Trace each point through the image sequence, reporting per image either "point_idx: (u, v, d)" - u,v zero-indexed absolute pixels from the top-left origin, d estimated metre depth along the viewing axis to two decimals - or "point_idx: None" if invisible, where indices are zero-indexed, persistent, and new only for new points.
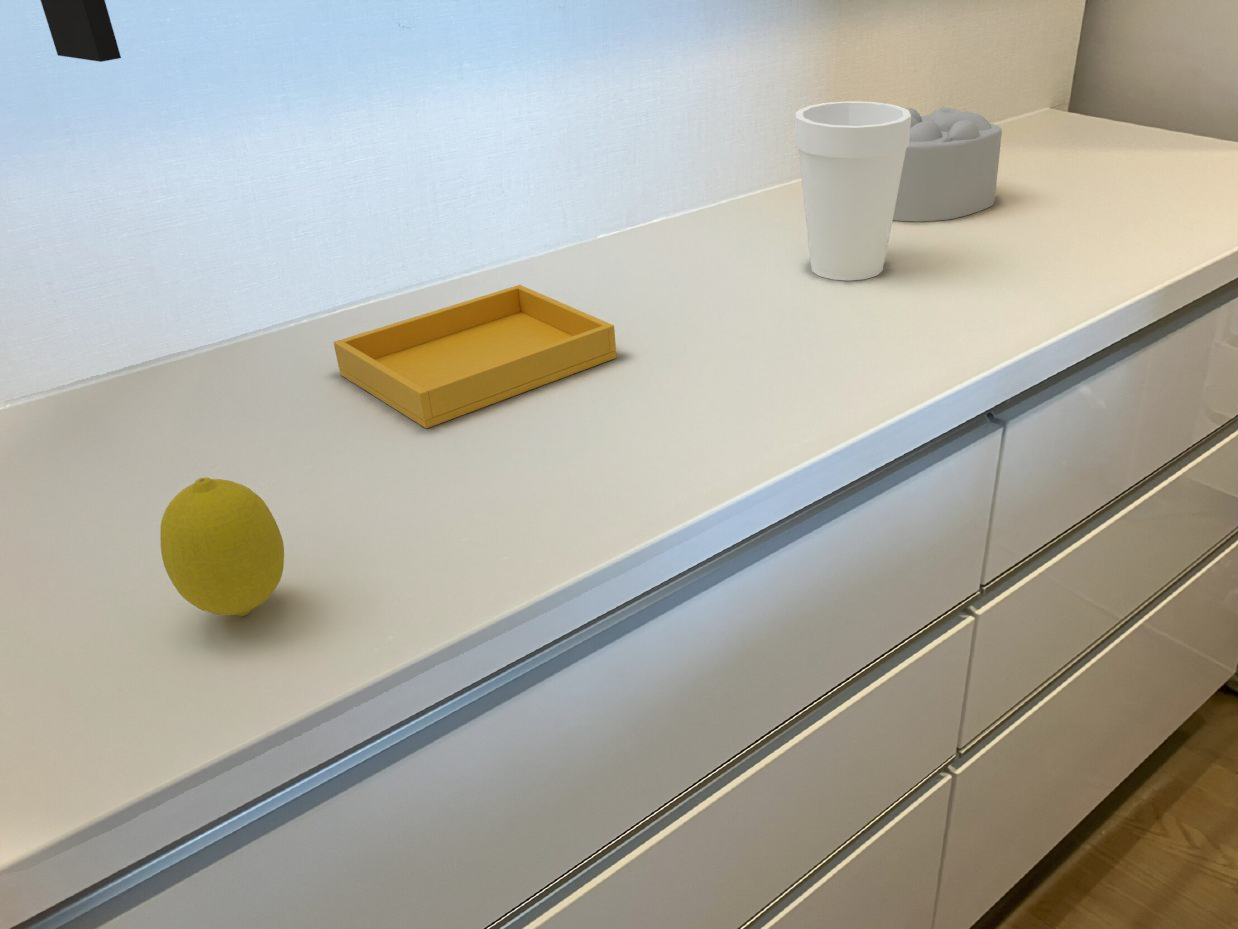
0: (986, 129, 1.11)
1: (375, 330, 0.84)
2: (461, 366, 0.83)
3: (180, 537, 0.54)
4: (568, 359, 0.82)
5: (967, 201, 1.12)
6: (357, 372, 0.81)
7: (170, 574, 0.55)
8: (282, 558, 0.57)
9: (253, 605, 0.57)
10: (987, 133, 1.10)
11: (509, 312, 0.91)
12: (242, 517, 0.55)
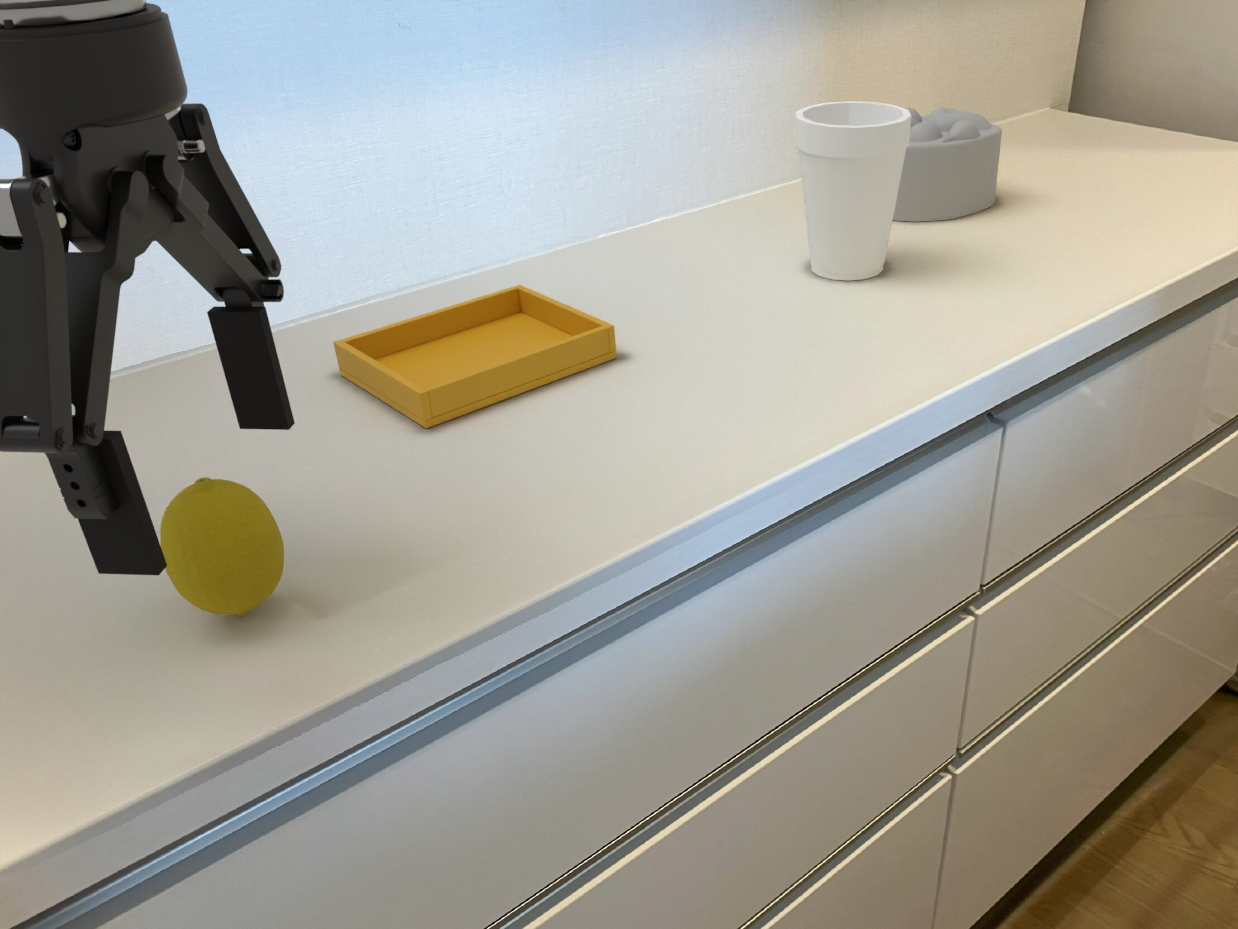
0: (986, 129, 1.11)
1: (375, 330, 0.84)
2: (461, 366, 0.83)
3: (180, 537, 0.54)
4: (568, 359, 0.82)
5: (967, 201, 1.12)
6: (357, 372, 0.81)
7: (170, 574, 0.55)
8: (282, 558, 0.57)
9: (253, 605, 0.57)
10: (987, 133, 1.10)
11: (509, 312, 0.91)
12: (242, 517, 0.55)
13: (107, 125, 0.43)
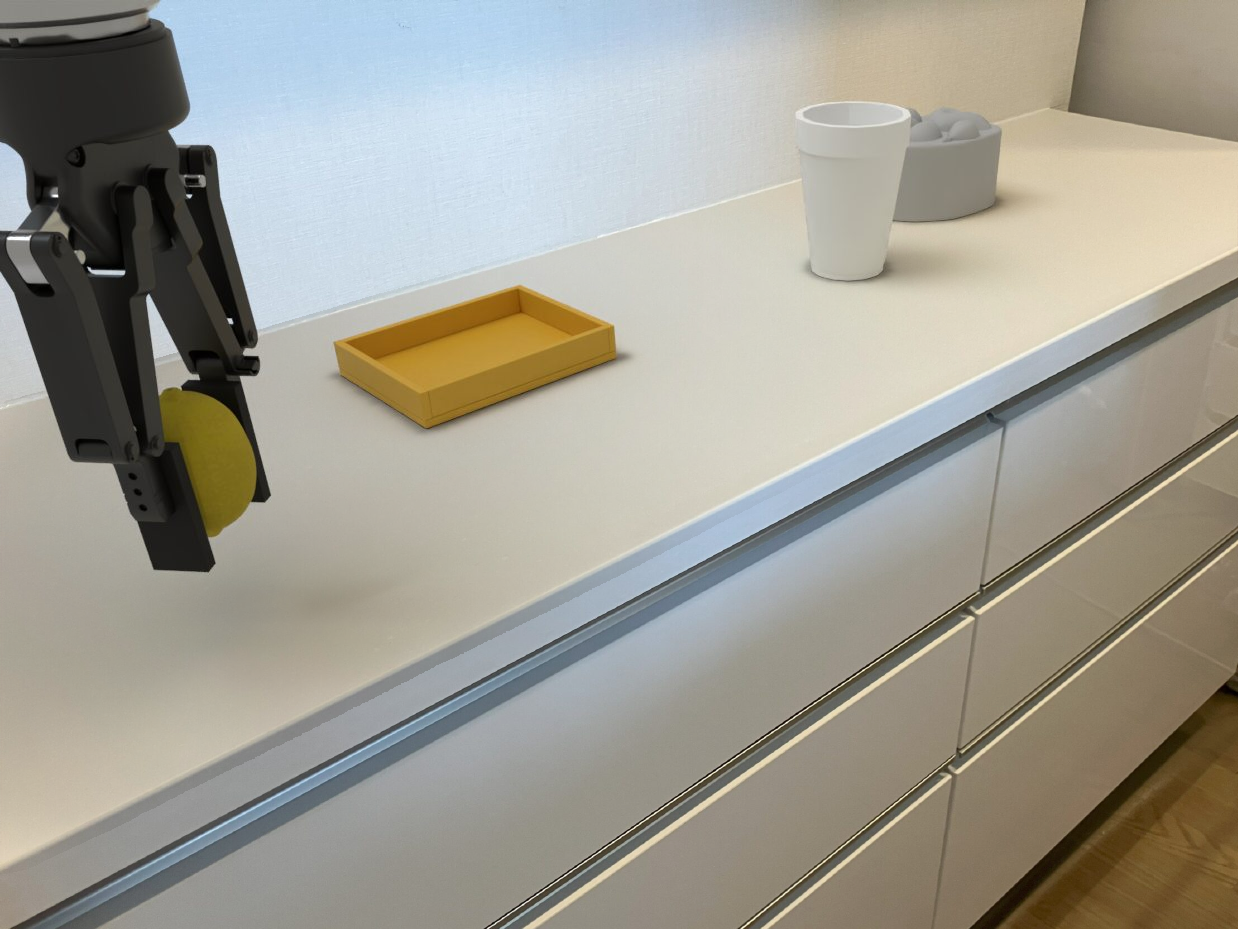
0: (986, 129, 1.11)
1: (375, 330, 0.84)
2: (461, 366, 0.83)
3: None
4: (568, 359, 0.82)
5: (967, 201, 1.12)
6: (357, 372, 0.81)
7: None
8: (254, 476, 0.55)
9: (223, 524, 0.55)
10: (987, 133, 1.10)
11: (509, 312, 0.91)
12: (211, 428, 0.52)
13: (111, 142, 0.44)
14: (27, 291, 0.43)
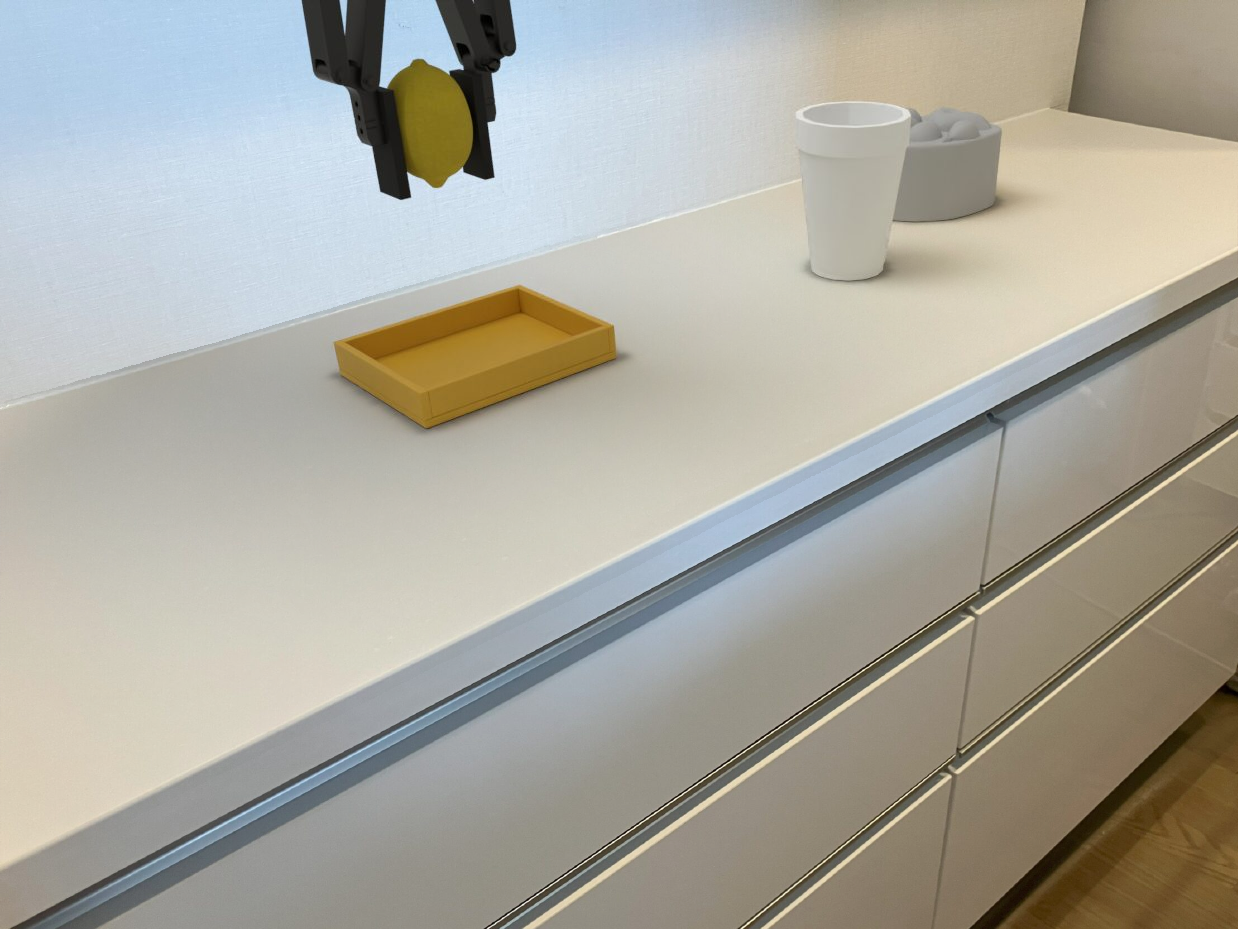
0: (986, 129, 1.11)
1: (375, 330, 0.84)
2: (461, 366, 0.83)
3: None
4: (568, 359, 0.82)
5: (967, 201, 1.12)
6: (357, 372, 0.81)
7: None
8: (458, 143, 0.72)
9: (427, 171, 0.73)
10: (987, 133, 1.10)
11: (509, 312, 0.91)
12: (427, 91, 0.70)
13: None
14: None
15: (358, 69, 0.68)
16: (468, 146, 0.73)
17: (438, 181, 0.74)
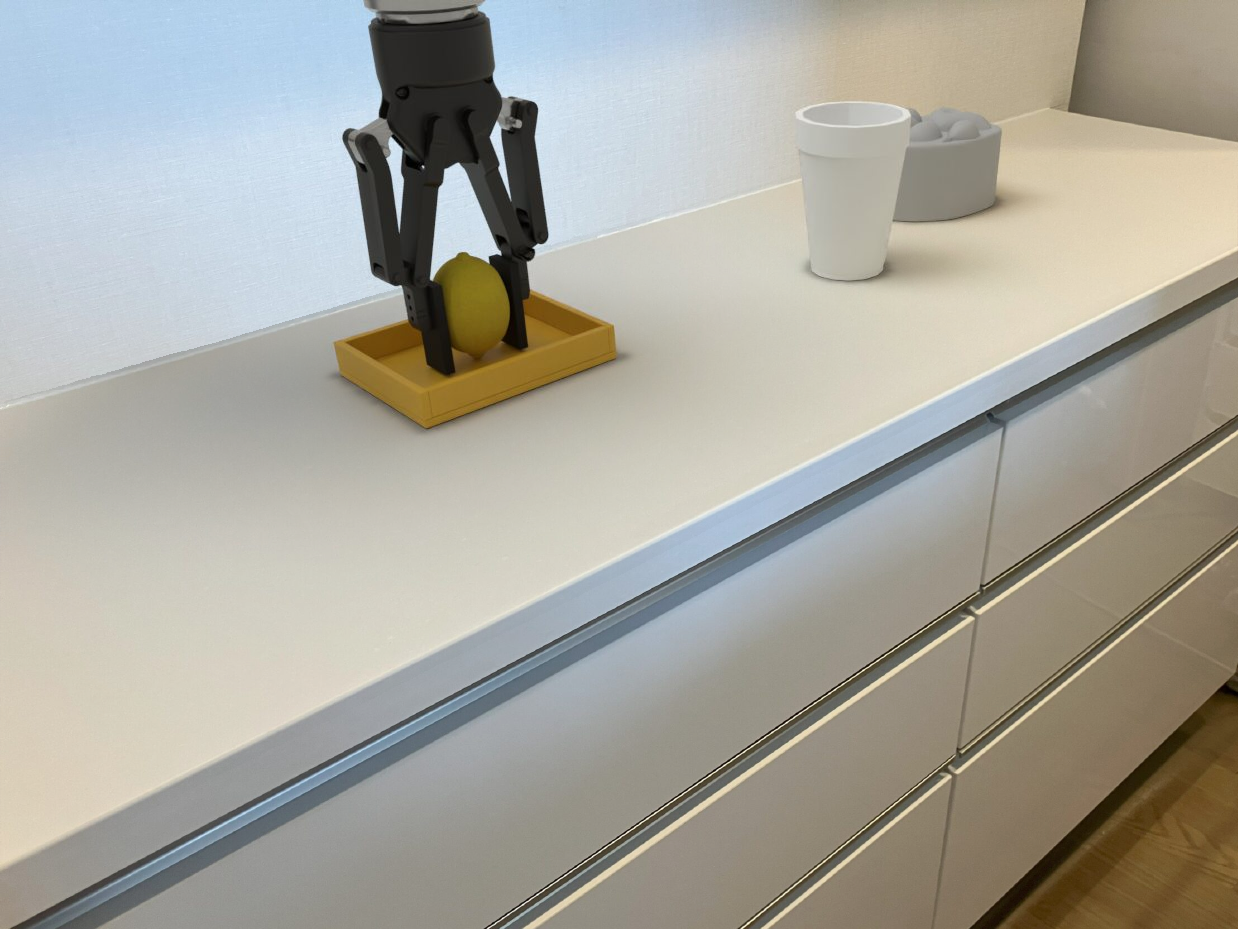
0: (986, 129, 1.11)
1: (375, 330, 0.84)
2: (461, 366, 0.83)
3: None
4: (568, 359, 0.82)
5: (967, 201, 1.12)
6: (357, 372, 0.81)
7: None
8: (497, 324, 0.81)
9: (470, 349, 0.82)
10: (987, 133, 1.10)
11: None
12: (470, 283, 0.79)
13: (418, 87, 0.71)
14: (359, 166, 0.73)
15: (411, 270, 0.77)
16: (506, 325, 0.82)
17: (479, 354, 0.83)
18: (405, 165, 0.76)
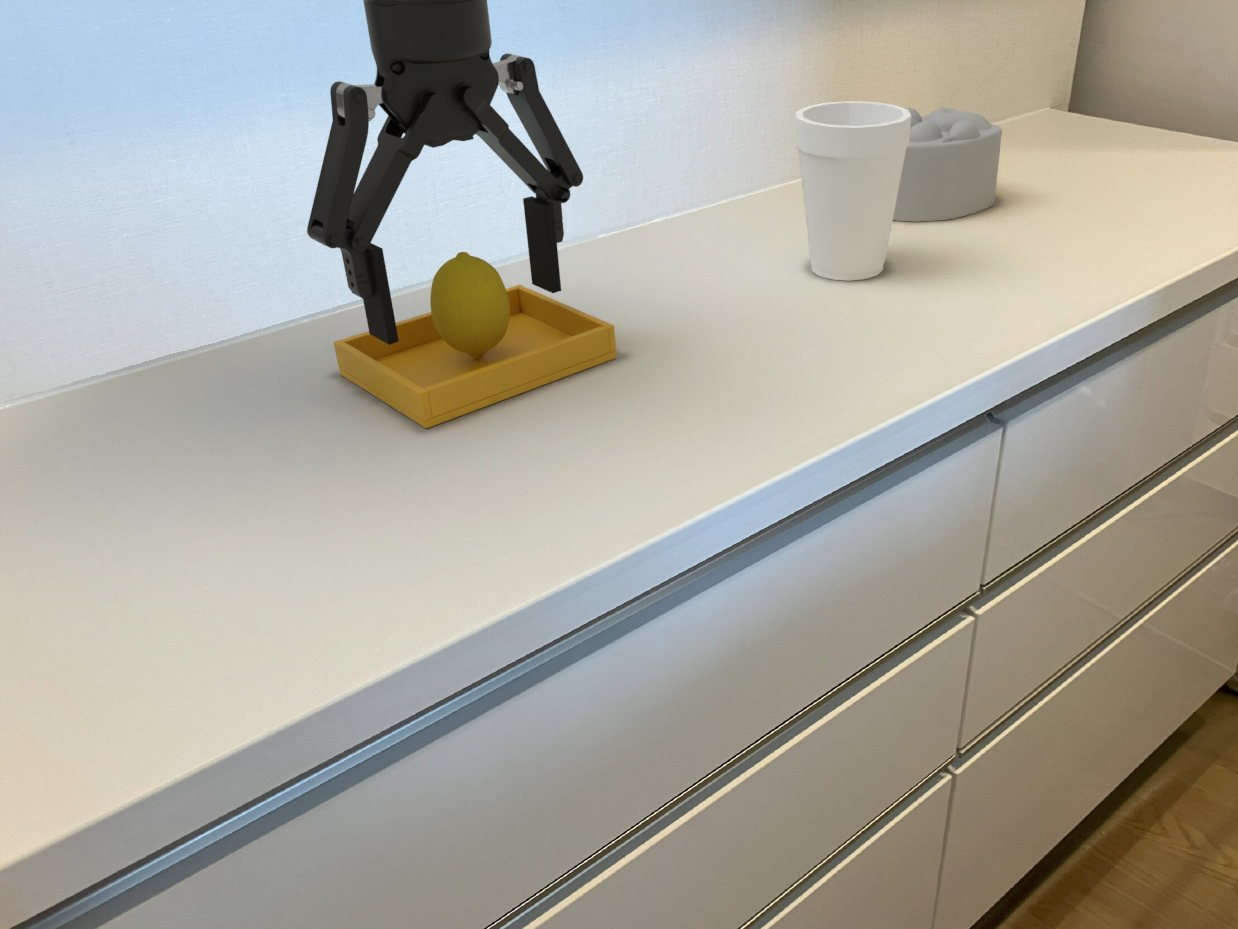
0: (986, 129, 1.11)
1: None
2: (461, 366, 0.83)
3: (434, 284, 0.80)
4: (568, 359, 0.82)
5: (967, 201, 1.12)
6: (357, 372, 0.81)
7: None
8: (497, 324, 0.81)
9: (470, 349, 0.82)
10: (987, 133, 1.10)
11: None
12: (471, 283, 0.79)
13: (414, 62, 0.70)
14: (336, 120, 0.71)
15: (349, 232, 0.73)
16: (506, 325, 0.82)
17: (479, 354, 0.83)
18: (385, 132, 0.74)
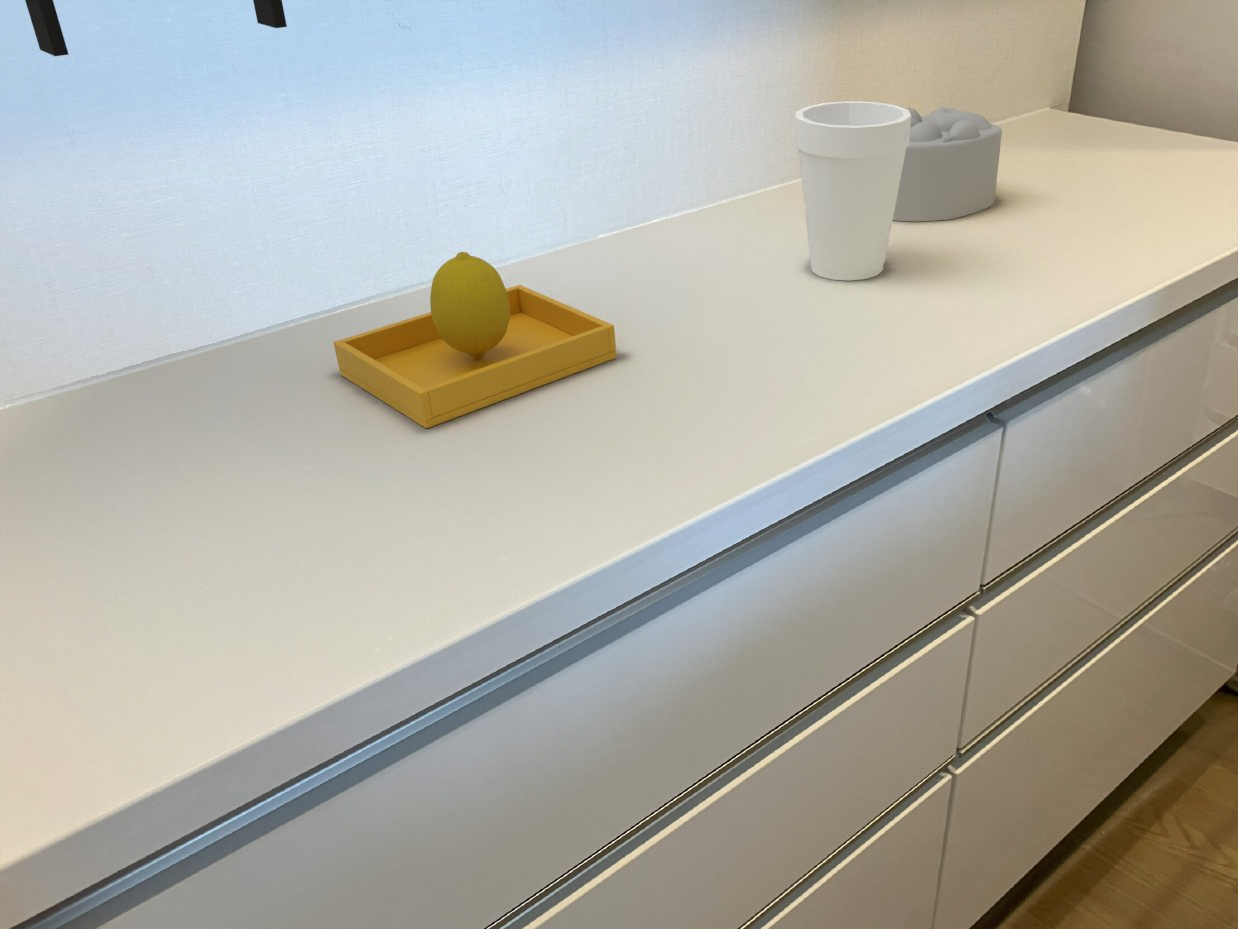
0: (986, 129, 1.11)
1: (375, 330, 0.84)
2: (461, 366, 0.83)
3: (434, 284, 0.80)
4: (568, 359, 0.82)
5: (967, 201, 1.12)
6: (357, 372, 0.81)
7: None
8: (497, 324, 0.81)
9: (470, 349, 0.82)
10: (987, 133, 1.10)
11: None
12: (470, 283, 0.79)
13: None
14: None
15: None
16: (506, 325, 0.82)
17: (479, 354, 0.83)
18: None
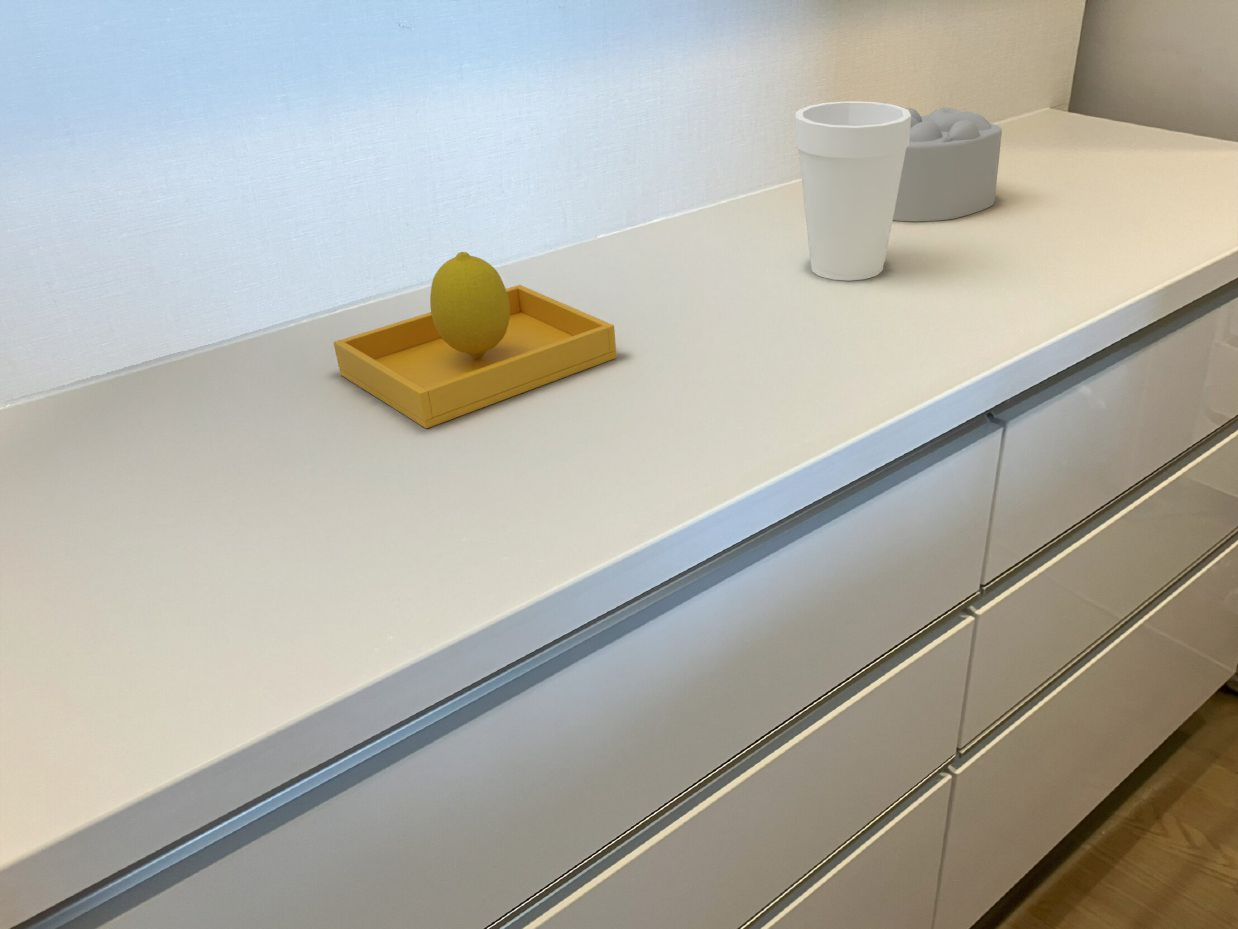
0: (986, 129, 1.11)
1: (375, 330, 0.84)
2: (461, 366, 0.83)
3: (434, 284, 0.80)
4: (568, 359, 0.82)
5: (967, 201, 1.12)
6: (357, 372, 0.81)
7: None
8: (497, 324, 0.81)
9: (470, 349, 0.82)
10: (987, 133, 1.10)
11: None
12: (470, 283, 0.79)
13: None
14: None
15: None
16: (506, 325, 0.82)
17: (479, 354, 0.83)
18: None
